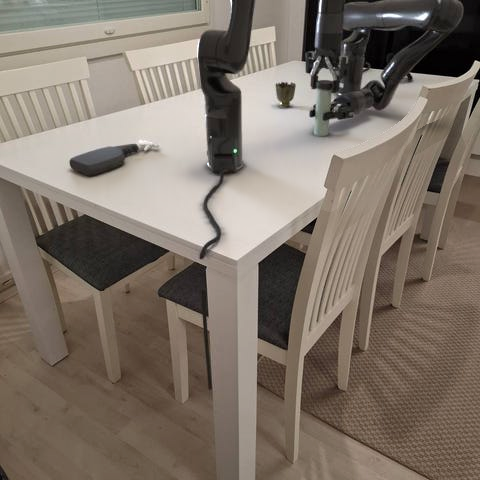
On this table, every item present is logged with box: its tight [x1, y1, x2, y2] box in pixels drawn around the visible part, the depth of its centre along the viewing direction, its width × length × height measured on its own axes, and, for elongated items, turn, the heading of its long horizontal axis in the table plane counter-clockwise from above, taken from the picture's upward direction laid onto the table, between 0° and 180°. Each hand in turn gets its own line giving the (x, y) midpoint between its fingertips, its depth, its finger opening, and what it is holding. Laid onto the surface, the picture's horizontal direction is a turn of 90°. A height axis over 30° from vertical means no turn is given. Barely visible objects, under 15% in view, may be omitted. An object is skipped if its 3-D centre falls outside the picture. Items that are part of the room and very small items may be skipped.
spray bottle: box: [68, 139, 160, 177], centre depth 124 cm, size 3×11×24 cm
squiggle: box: [385, 52, 414, 81], centre depth 198 cm, size 11×10×15 cm
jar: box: [313, 88, 333, 137], centre depth 137 cm, size 4×4×15 cm
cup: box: [275, 81, 297, 108], centre depth 166 cm, size 8×7×8 cm
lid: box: [316, 79, 333, 89], centre depth 133 cm, size 5×5×2 cm
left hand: (324, 90), depth 134 cm, fingers open, 6 cm apart
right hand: (317, 115), depth 136 cm, fingers closed on jar, 4 cm apart
